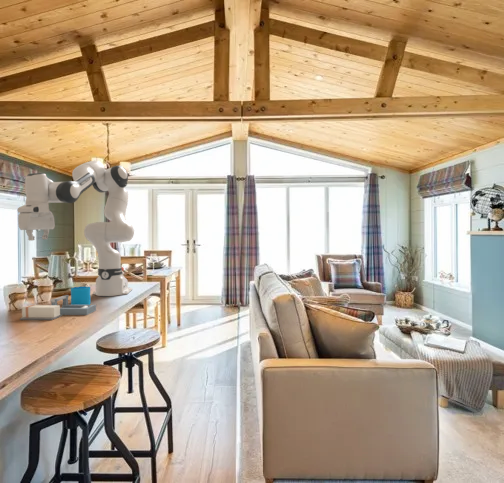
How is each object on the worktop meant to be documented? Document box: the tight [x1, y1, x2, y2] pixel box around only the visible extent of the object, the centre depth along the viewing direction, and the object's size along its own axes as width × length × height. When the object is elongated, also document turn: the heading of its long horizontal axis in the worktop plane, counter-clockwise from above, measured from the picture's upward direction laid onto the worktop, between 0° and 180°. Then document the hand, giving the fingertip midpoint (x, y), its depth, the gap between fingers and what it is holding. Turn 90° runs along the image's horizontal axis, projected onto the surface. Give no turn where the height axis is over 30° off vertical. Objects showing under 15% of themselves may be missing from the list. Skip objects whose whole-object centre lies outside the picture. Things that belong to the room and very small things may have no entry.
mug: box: [70, 285, 92, 305], centre depth 167 cm, size 12×8×8 cm
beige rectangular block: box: [21, 304, 61, 318], centre depth 142 cm, size 13×4×4 cm, turn 87°
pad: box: [19, 314, 63, 321], centre depth 142 cm, size 7×13×1 cm, turn 87°
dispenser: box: [50, 294, 97, 316], centre depth 151 cm, size 14×10×6 cm
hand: (38, 239), depth 159 cm, fingers open, 8 cm apart
